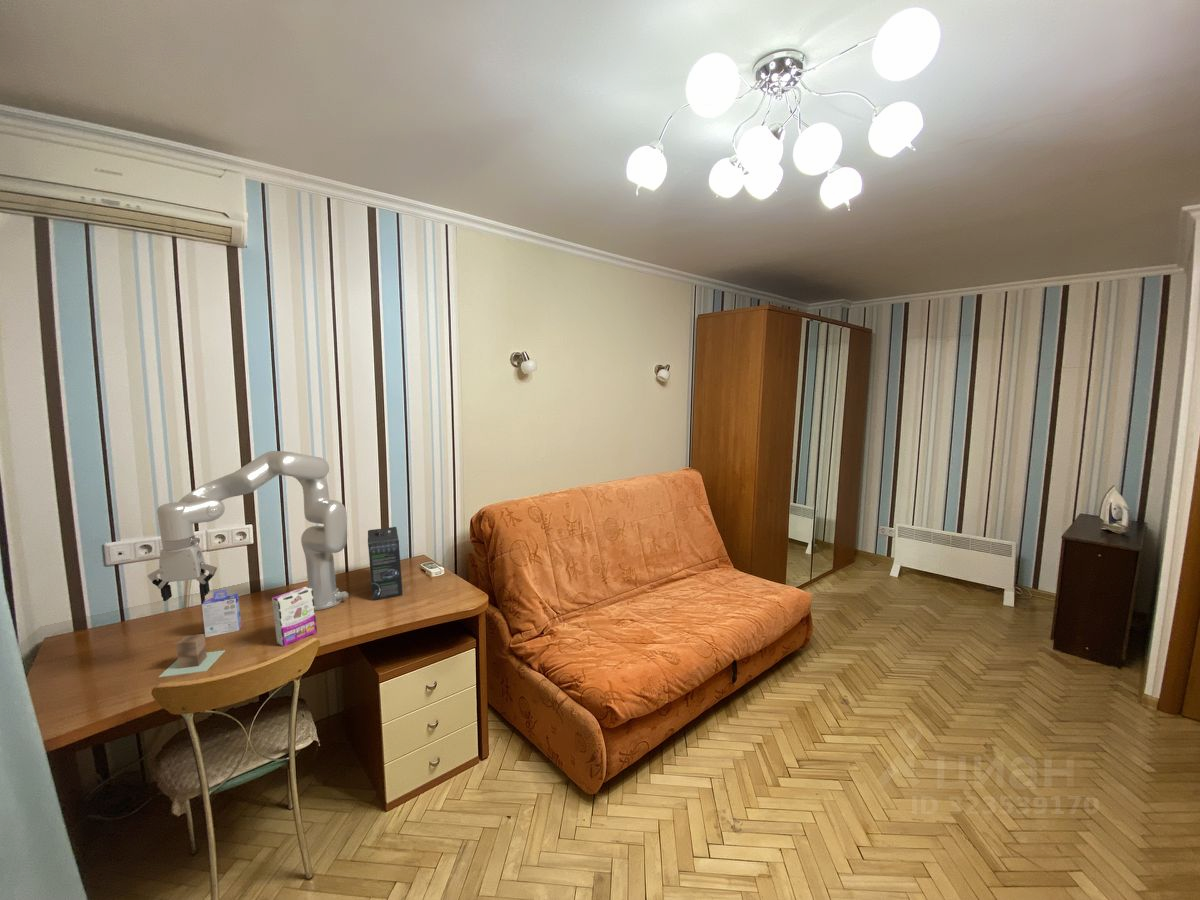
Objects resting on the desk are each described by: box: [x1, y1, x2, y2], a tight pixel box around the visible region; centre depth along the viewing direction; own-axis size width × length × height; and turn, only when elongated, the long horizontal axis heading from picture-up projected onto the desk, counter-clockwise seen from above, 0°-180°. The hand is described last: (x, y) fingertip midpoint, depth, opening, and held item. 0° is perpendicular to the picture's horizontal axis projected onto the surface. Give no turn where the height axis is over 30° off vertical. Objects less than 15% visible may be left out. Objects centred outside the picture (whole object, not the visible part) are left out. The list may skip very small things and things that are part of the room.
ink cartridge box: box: [201, 589, 242, 638], centre depth 171 cm, size 10×6×14 cm, turn 120°
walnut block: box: [175, 633, 207, 669], centre depth 151 cm, size 5×5×8 cm
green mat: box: [158, 650, 226, 678], centre depth 151 cm, size 12×12×1 cm
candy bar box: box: [271, 585, 318, 647], centre depth 166 cm, size 11×5×16 cm, turn 148°
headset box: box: [367, 526, 403, 601], centre depth 206 cm, size 22×12×26 cm, turn 25°
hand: (186, 597), depth 149 cm, fingers open, 9 cm apart
